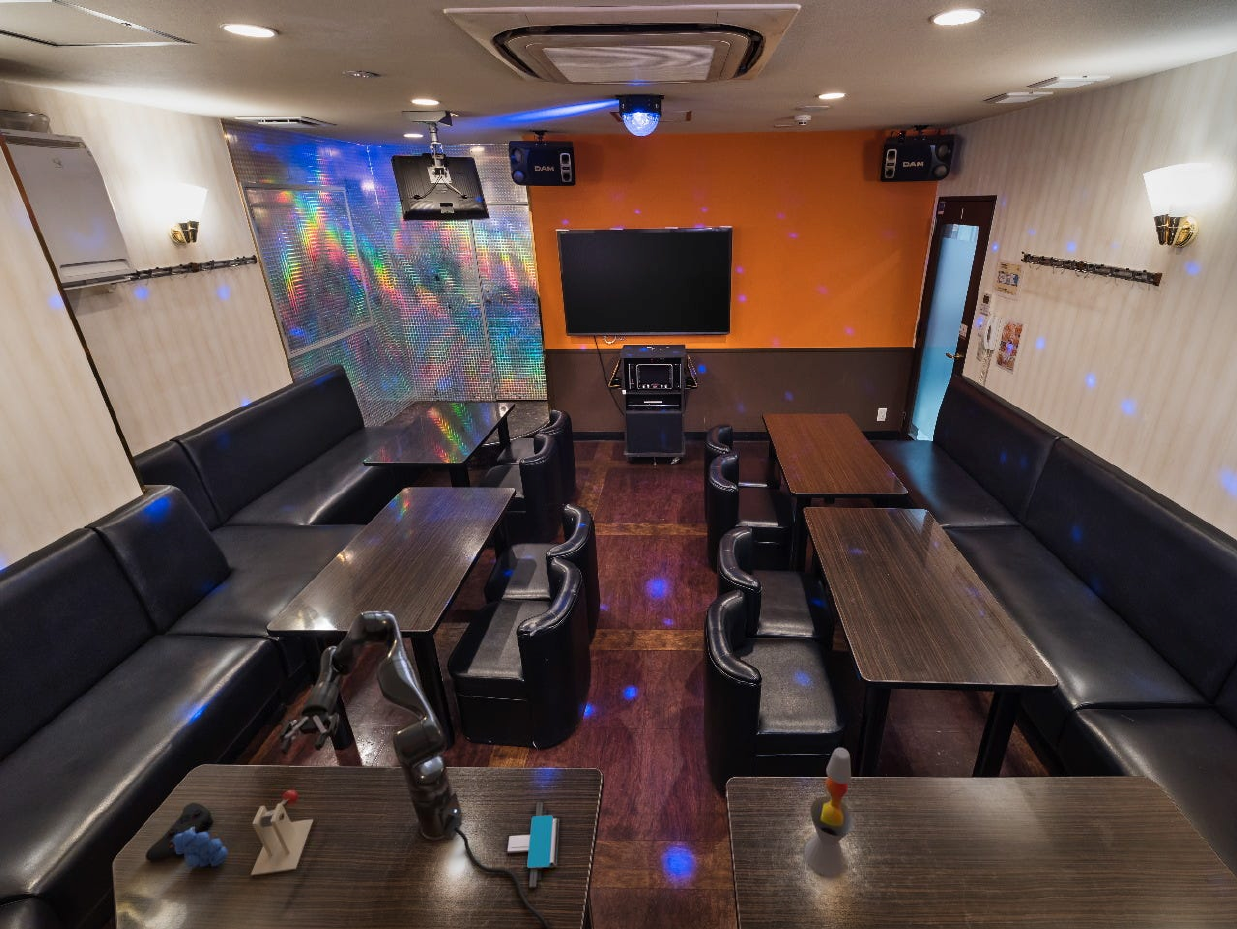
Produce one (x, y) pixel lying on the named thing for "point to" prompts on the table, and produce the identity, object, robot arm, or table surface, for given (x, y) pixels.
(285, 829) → the switch bracket
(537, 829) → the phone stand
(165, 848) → the gaming controller
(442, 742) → the robot arm
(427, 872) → the table surface
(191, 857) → the grapes
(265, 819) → the power lever
